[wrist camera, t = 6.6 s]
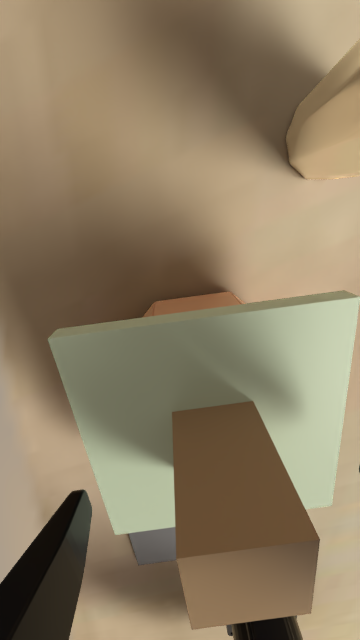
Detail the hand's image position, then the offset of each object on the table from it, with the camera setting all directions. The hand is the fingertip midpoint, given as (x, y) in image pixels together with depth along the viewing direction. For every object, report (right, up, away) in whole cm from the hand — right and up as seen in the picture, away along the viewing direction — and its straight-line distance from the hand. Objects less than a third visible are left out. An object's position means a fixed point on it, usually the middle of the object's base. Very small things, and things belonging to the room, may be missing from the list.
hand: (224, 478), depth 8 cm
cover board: (0, +1, +2) cm, 3 cm away
